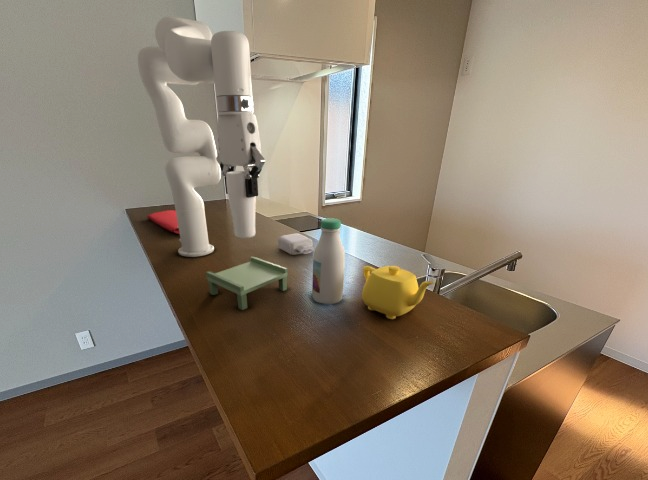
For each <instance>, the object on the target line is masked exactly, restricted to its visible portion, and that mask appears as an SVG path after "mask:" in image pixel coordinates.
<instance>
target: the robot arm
mask: <svg viewBox="0 0 648 480" xmlns="http://www.w3.org/2000/svg"><path fill="white" fill-rule="evenodd" d="M154 34H155V40H156V43H157V45H158V46H145V47H142V48H141V49H140V50H139V51H138V54H137V66H138V67H137V68H138V73H139V76H140V80H141V83H142V84H143V87H144V89H145V91H146V93H147V94H148V97H149V99H150V101H151V103H152V106H153V108H154V111H155V115H156V119H157V122H158V123H157V124H158V128H159V132H160V135H161V139H162V142H163V145H164V147H165V149H166V150H167V151H168V152H170V153H174V154H189V153H190V154H192V153H193V154H194V153H197V154H198V155H194V156H193V155H187V156H175V157H172V158H170V159H168V160H167V161H166V163H165V166H164V167H165V168H164V169H165V175H166V178H167V181H168V184H169V187H170V191H171V194H172V199H173V203H174V209H175V210H174V211H176V216H177V221H178V227H179V233H180V234H179V239H178V242H179V243H181V247H179V248H178V250H177V252H178V255H179V256H181V257H186V258H195V257H196V258H197V257H204V256H207V255H211V253H213V252H214V250H215V247H214V245H213V244H210V242H209V235H208V227H207V219H206V212H205V203H204V200H203V199H202V196H200V194H199V193H198V192H197V191H196V190H195V188H201V187H211V186H216V185H218V184H219V183H220V181H221V175H222V176H223V177H224V186H225V194H226V195H228V192H227V184H226V173H227V172H233V171H236V168H237V167H242V168H243V171H245V174H246V176H247V178H248V179H245V186H246V197H248V198H250V197H256V198H257V197H258V196H259V184H258V183H259V182H258V181H259V180H258V179H259V178H260V174H261V172H262V169H263V167H264V165H265V163H266V158H264V157H263V155H262V147H261V146H262V145H261V138H260V137H261V136H260V130H259V124H258V120H257V117H256V114H254V101H253V86H252V85H253V84H252V69H251V67H252V66H251V52H250V51H251V50H250V42H249V39H248V37H247V36H246V35H245V34H244V33H242V32H240V31H235V30H221V31H218V32H215V33H212V31H211V29H210V28H209V26H208V25H207V24H206V23H205V22H202V21H199V20H194V19H188V18H183V17H177V16H170V15H169V16H164V17H162V18H161V19H159V21H158V22H157V23H156V25H155V30H154ZM200 83H201V84H202V83H203V84H214V89H215V90H214V91H215V100H216V102H215V103H216V110H217V146H216V143H215V138H214V134H213V131H212V128H211V127H210V125H209V124H208V123H207V122H206V121H205V120H202V119H188V118H187V117H186V114H185V110H184V106H183V102H182V101H181V98H179V97H178V95H177V94H176V93H175V91H173V90H172V88H170V86H168V84H172V85H187V86H194V85H195V86H196V85H198V84H200ZM216 147H217V148H218V152H217V148H216ZM250 169H251V170H250ZM221 171H222V172H221ZM221 173H222V174H221Z"/></svg>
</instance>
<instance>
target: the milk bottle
mask: <svg viewBox="0 0 648 480" xmlns="http://www.w3.org/2000/svg"><path fill="white" fill-rule="evenodd" d="M341 228H342V221H341V220H340V219H339V218H333V217H328V218H327V217H326V218H323V219H321V220H320V231H321V232H320V233H321V234H320V236H319V238H318V242H317V243H316V245H315V247H314V252H313V260H312V289H311V291H312V292H311V293H312V294H311V296H312V299H313V300H314V301H315V302H317V303H319V304H323V305H333V304H337V303H340V301H342V299H343V294H344V281H345V266H346V252H345V247H344V244H343V243H342V239H341V236H340V231H341Z"/></svg>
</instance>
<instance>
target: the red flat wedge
mask: <svg viewBox="0 0 648 480" xmlns="http://www.w3.org/2000/svg"><path fill="white" fill-rule="evenodd" d="M146 218H147V219H148V220H150V221H152V222H153V223H155V224H156V225H158V226H160V227H161V228H163V229H165V230H166V231H169V232H171V233H174V234H178V235H180V233H179V227H178V221H177V216H176V210H174V209H173V210H171V209H170V210H163V211H162V210H161V211H157V212H153V213H150V214H147V216H146Z"/></svg>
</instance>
